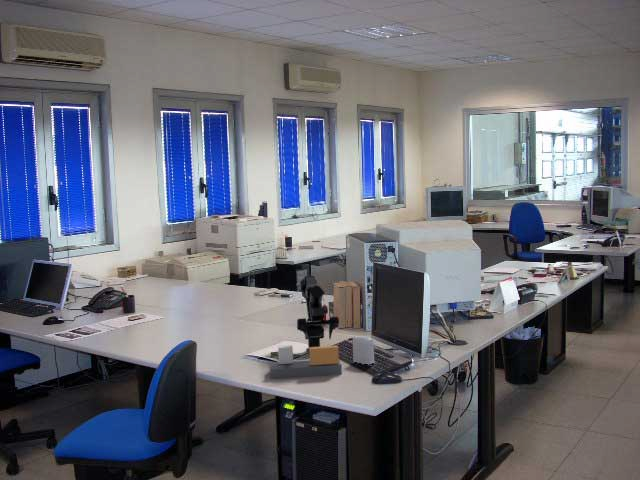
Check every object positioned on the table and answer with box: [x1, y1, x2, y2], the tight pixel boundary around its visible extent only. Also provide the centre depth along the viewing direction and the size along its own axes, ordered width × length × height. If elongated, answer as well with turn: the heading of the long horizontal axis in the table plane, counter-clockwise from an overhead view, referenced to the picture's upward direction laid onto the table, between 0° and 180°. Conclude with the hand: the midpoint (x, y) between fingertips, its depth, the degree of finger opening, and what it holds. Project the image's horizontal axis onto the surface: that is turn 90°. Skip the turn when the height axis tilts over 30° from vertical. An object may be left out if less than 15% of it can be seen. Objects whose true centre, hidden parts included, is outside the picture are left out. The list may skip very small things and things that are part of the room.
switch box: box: [268, 359, 343, 380], centre depth 293 cm, size 10×30×4 cm, turn 97°
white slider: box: [277, 345, 294, 364], centre depth 294 cm, size 3×6×7 cm, turn 97°
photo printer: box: [352, 335, 375, 366], centre depth 304 cm, size 10×4×12 cm, turn 47°
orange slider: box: [308, 345, 340, 365], centre depth 291 cm, size 3×12×7 cm, turn 97°
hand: (319, 339), depth 304 cm, fingers open, 9 cm apart
